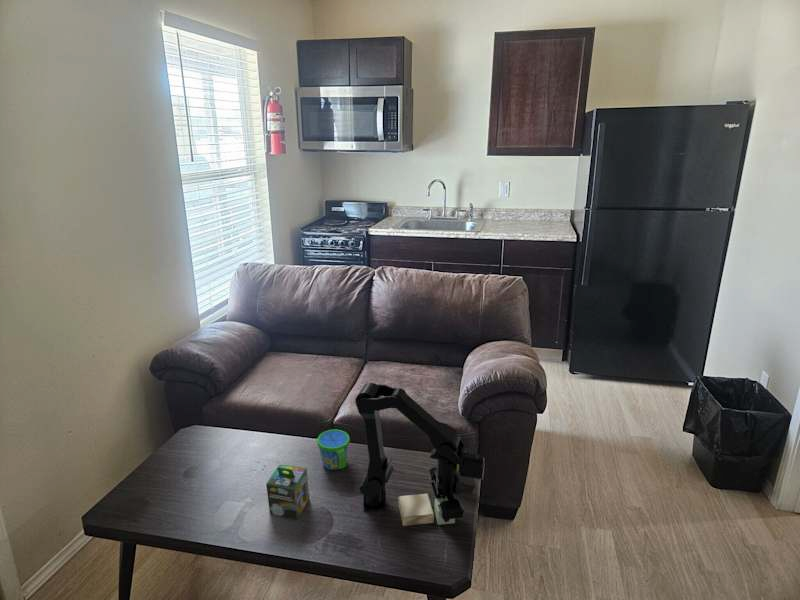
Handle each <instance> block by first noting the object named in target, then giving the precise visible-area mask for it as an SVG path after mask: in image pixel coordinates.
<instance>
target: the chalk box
mask: <svg viewBox="0 0 800 600" xmlns="http://www.w3.org/2000/svg"><path fill="white" fill-rule="evenodd" d="M265 484H266V492H267V493H266V494H267V501H268V502H267V503H268V508H269V509H268V510H269V515H272V516H277V517H283V518H286V519H293V520H298V519H299V517H300V515H301V514H302V512H303V511H304V509H305V507H306V506H307V504H308V502H309V500H310V492H309V490H310V489H309V481H308V471H307V467H301V466H295V465H293V466H292V465H287V464H279V465H278V467H277V468H276V469H275V470H274V471H273V473H272V474H271V477H269V479H268V480H267V482H266V483H265Z"/></svg>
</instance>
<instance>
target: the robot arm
mask: <svg viewBox="0 0 800 600" xmlns="http://www.w3.org/2000/svg"><path fill="white" fill-rule="evenodd" d="M354 403H355V406H356V408H357V412H358V414H359V415H360V416H361V418H363V424H364V430H365V437H366V439H365V440H366V445H367V453H368V460H369V461H368V466H367V472H366V474H365V476H364V477H363V480H362V482H361V484H360V486H359V487H358V488H359V493H360V494H361V501H362V511H364V512H366V511H367V512H368V511H377V510H385V509H386V505H385V503H386V502H387V494H386V493H387V491H386V485H387V483H389V480H390V478H391V476H392V474H393V472H394V469H395V468H394V466H393V458H388V457H387V456H386V454H385V448H384V440H383V439H384V438H383V433H382V426H381V424H382V423H381V417H380V411H383V410H387V409H388V410H389V409H396V410H397V411H398V412H399V413H400V414H402V415H403V416H404V417H405V418H407V420H409V421H410V422H411V423H412V424H413V425H414V426H415V427H417V428H418V429H419V430H420V431H422V433H423V434H424V435H426V436H427V438H428V440H429V442H430V444H431V446H432V447H433V449H432V450H431V452H430V455H429V458H430V459H431V460H432V459H434V460H436V466H435V467H431V468H430V469H429V470H428V478H429V480H430V482H431V487H432V491H433V494H434V495H435V499H438V498H442V499H446V501H443V502H441V503H440V505H438V507H439V511H440V513H441V516H442V518H443V519H444V521H445V522H449V520H450V519H454V518H455V519H460V518H461V519H462V518H464V517H465V508H464V506H463V502H462V501H461V500H460V499H458V498H455V496H456V495H460V492H461V493H465V494H468V495H473V494H474V492H475V489H476V488H477V482H476V481H475V479H476V480H481V481H482V480H483V478H484V474H485V465H486V464H485V463H486V461H485V455H484V454H480V453H479V454H477V453H476V454H475V453H470V452H466V451H467V446H466V444H465V443H464V441H463V440H462V439H461V435H460V432H459V431H458V430H457V429H455V428H454V427H452V425H449V424H448V423H445V422H440V421H439V420H438V419H436V418H435V417H434V416H432V415H431V414H430V413H429V412H428V411H427V410H426V409H425V408H423V407H422V406H421V405H420V404H419V403H417V402H416V401H415V400H414V399H413V398H412V397H411V396H409V394H407V392H406V390H404V388H401V387H392V386H390V385H388V384H385V383H383V384H379V383H377V384H376V383H375V382H366V383H365V384H364V385H363V387H362V388H361V389H360V391H359V392H358V394H357V395H356V397H355V399H354ZM457 464H458V465H459V471H458V472H457Z"/></svg>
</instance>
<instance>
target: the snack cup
mask: <svg viewBox="0 0 800 600" xmlns="http://www.w3.org/2000/svg"><path fill="white" fill-rule="evenodd" d="M350 441H351V439H350V436H349V434H348V433H347V432H346V431H344V430H341V429H336V428H335V429H329V430H326V431H323V432H321V433H320V434H319V435H318V437H317V439H316V443H317V446H318V448H319V452H320V456H321V462H322V464H323V467H324V468H326V470H332V471H334V470H335V471H336V470H342V469H344V468H345V467H347V455H348V450H349V449H348V447H349V445H350V443H351V442H350Z"/></svg>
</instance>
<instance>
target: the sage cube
mask: <svg viewBox="0 0 800 600" xmlns="http://www.w3.org/2000/svg"><path fill="white" fill-rule="evenodd" d="M443 501H446V499H442V498H438V499H437V498H434V510H433V514H434V518H435V520H436V523H437V525H438V526H441V525H442V526H443V525H448V524H449V525H450V524H455V523H456V518H454V519H450V520H449V522H445V521H444V519H443V518H442V516H441V513H440V511H439V507H438V505H440V503H441V502H443Z"/></svg>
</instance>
